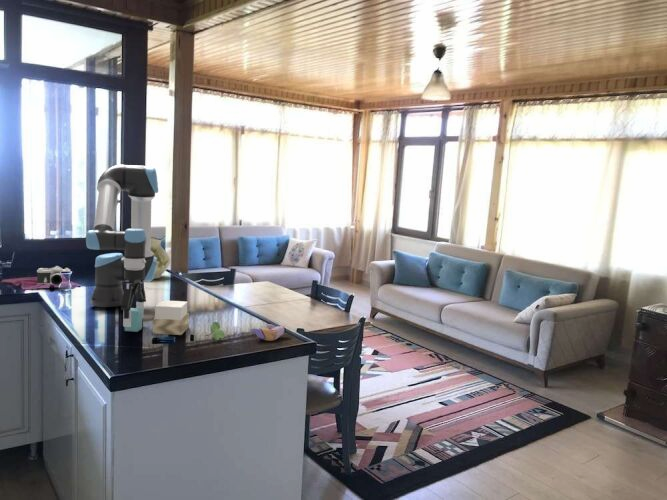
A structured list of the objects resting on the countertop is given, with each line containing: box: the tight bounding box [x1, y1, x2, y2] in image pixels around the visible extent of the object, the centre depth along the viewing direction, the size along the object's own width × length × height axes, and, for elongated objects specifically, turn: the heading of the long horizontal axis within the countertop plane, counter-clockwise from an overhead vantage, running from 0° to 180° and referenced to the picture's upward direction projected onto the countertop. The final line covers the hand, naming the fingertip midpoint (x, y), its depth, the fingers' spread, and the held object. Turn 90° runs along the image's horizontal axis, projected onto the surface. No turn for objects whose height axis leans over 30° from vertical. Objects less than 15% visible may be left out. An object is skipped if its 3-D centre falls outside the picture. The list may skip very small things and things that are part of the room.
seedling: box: [204, 321, 226, 341], centre depth 207 cm, size 7×8×6 cm
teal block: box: [124, 307, 143, 333], centre depth 211 cm, size 5×5×8 cm
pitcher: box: [150, 236, 171, 280], centre depth 317 cm, size 22×24×25 cm
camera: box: [36, 265, 72, 286], centre depth 282 cm, size 16×9×10 cm, turn 117°
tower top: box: [154, 300, 188, 320], centre depth 213 cm, size 10×10×5 cm
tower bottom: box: [152, 312, 190, 336], centre depth 214 cm, size 11×11×6 cm
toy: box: [250, 323, 287, 342], centre depth 210 cm, size 9×6×15 cm
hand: (133, 322), depth 211 cm, fingers open, 13 cm apart
